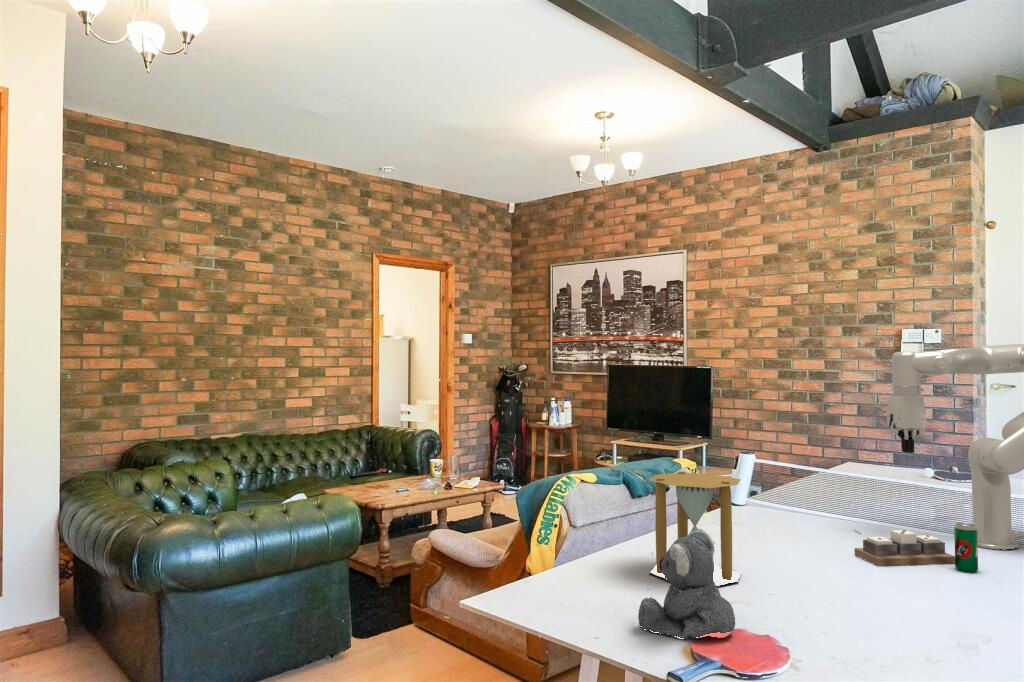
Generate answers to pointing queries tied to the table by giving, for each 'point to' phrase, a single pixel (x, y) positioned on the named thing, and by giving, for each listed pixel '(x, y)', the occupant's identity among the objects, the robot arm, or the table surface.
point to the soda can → (966, 547)
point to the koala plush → (688, 592)
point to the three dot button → (903, 536)
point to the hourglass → (694, 510)
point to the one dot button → (879, 540)
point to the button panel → (905, 553)
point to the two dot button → (927, 539)
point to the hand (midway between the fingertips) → (907, 452)
